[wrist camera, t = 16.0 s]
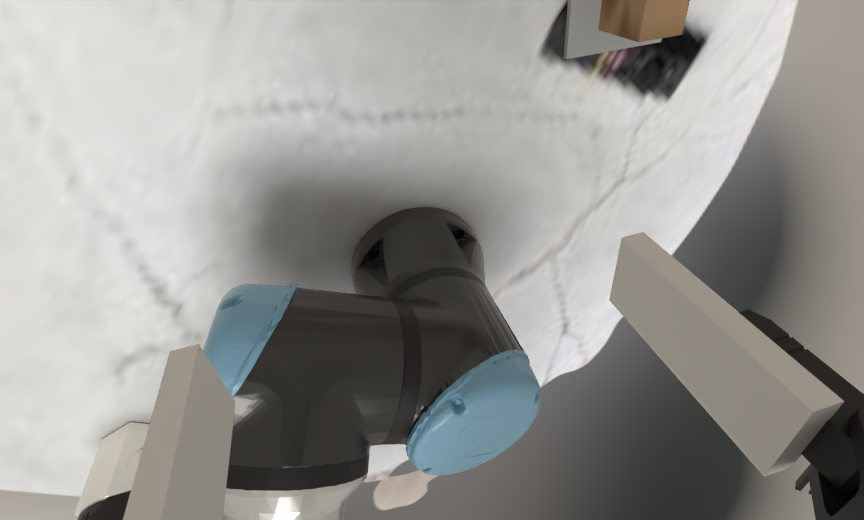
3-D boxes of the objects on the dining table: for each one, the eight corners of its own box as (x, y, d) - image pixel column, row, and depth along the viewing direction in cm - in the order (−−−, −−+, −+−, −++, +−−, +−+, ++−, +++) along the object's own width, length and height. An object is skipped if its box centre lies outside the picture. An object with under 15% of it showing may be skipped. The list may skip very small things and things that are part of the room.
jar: (189, 425, 58) (170, 520, 48) (172, 461, 61) (152, 557, 52) (109, 417, 53) (71, 520, 44) (95, 457, 57) (58, 560, 47)
